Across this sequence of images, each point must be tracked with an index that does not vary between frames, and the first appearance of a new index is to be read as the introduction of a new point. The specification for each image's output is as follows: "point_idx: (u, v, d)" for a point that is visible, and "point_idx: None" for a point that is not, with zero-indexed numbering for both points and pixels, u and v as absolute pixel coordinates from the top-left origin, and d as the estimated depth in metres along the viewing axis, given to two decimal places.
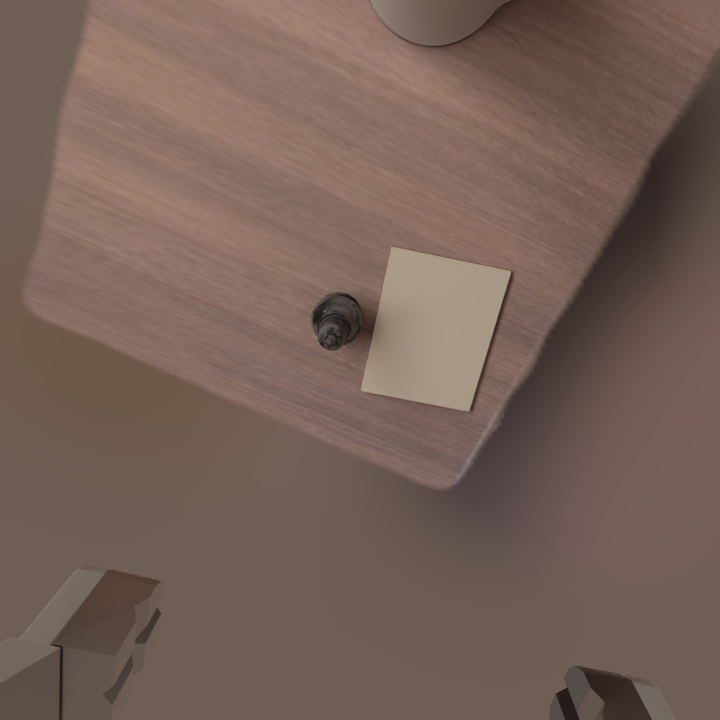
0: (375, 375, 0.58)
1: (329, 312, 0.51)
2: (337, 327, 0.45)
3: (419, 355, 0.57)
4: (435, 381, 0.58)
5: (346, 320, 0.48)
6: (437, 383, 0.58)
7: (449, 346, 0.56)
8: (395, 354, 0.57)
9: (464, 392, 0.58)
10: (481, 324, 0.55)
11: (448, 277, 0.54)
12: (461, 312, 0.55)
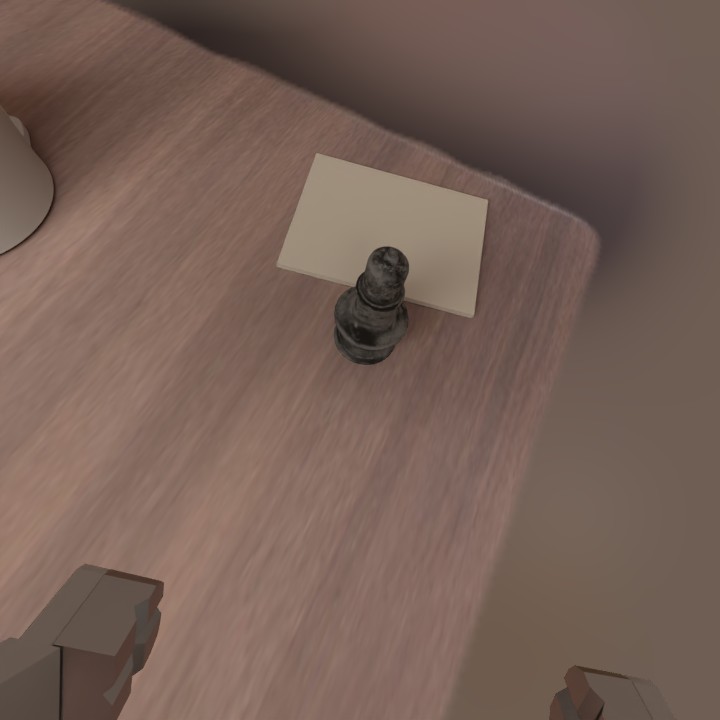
0: (449, 296, 0.42)
1: (357, 311, 0.34)
2: (373, 253, 0.30)
3: (419, 244, 0.44)
4: (451, 230, 0.45)
5: None
6: (455, 228, 0.45)
7: (406, 213, 0.45)
8: (419, 270, 0.42)
9: (464, 203, 0.47)
10: (377, 181, 0.46)
11: (320, 208, 0.44)
12: (363, 199, 0.45)
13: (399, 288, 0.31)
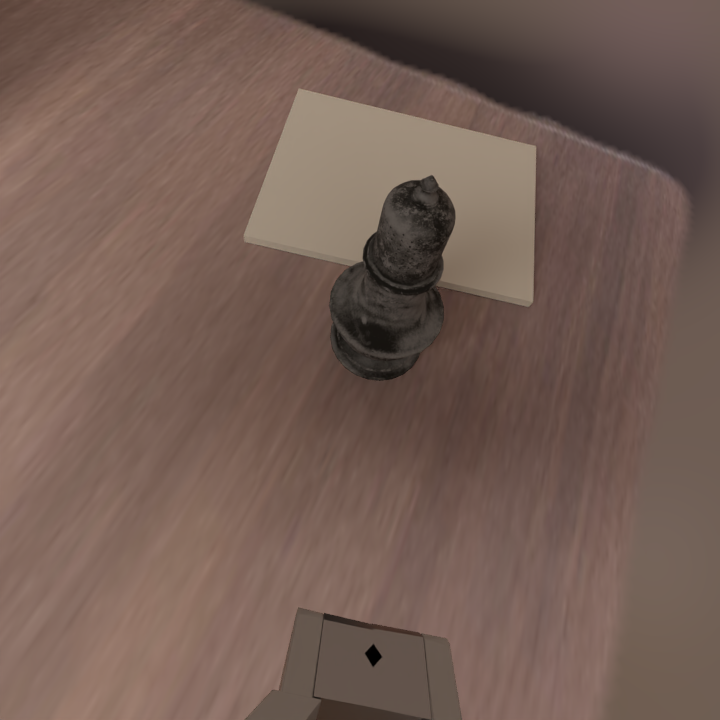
0: (496, 275, 0.29)
1: (365, 297, 0.22)
2: (392, 191, 0.17)
3: None
4: (490, 186, 0.32)
5: None
6: (495, 184, 0.32)
7: (426, 165, 0.32)
8: (450, 241, 0.30)
9: (504, 150, 0.34)
10: (384, 124, 0.33)
11: (305, 160, 0.31)
12: (365, 147, 0.32)
13: (438, 253, 0.18)
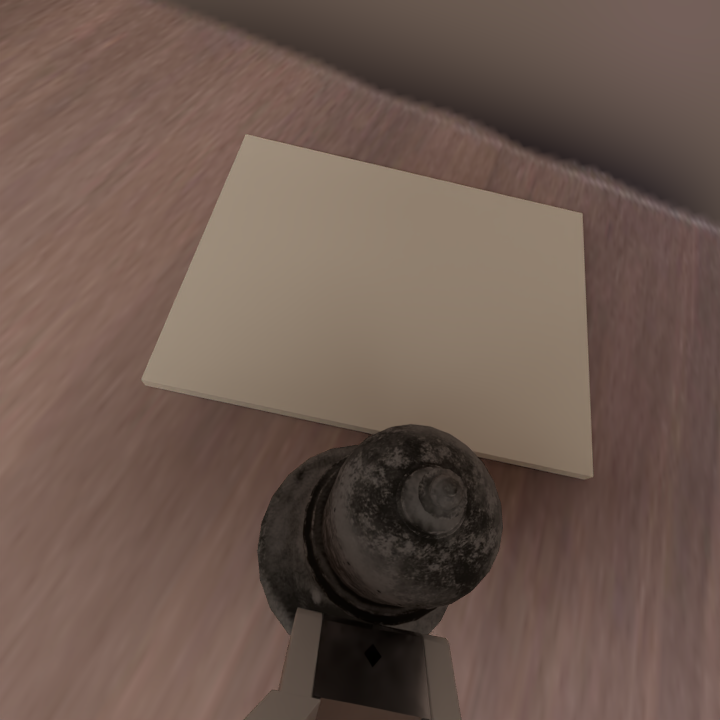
0: (534, 432, 0.19)
1: None
2: (352, 469, 0.07)
3: (458, 314, 0.21)
4: (521, 279, 0.22)
5: (337, 467, 0.10)
6: (527, 275, 0.22)
7: (427, 248, 0.22)
8: (463, 374, 0.20)
9: (537, 221, 0.24)
10: (367, 186, 0.23)
11: (248, 246, 0.21)
12: (339, 222, 0.22)
13: None
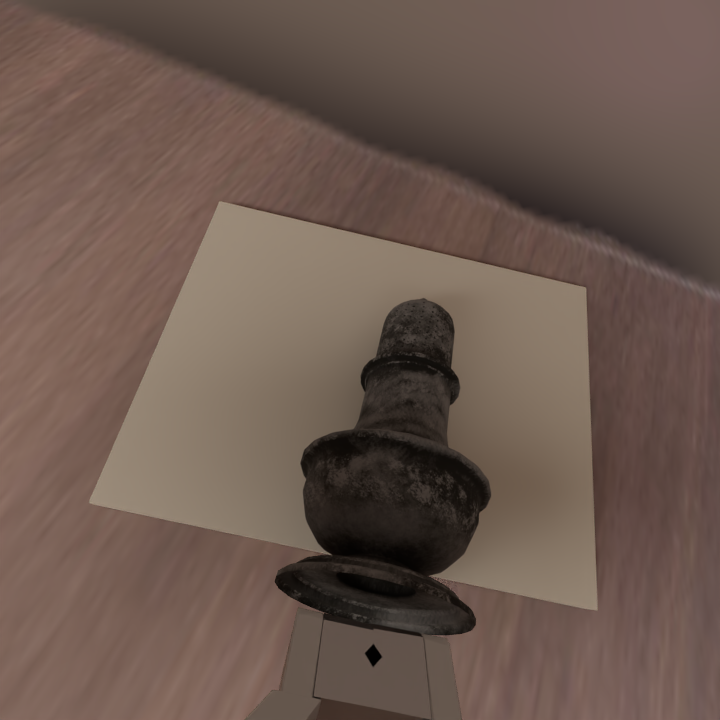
0: (532, 556, 0.17)
1: (378, 410, 0.15)
2: None
3: None
4: (518, 367, 0.20)
5: None
6: (525, 362, 0.20)
7: None
8: None
9: (537, 297, 0.22)
10: (351, 259, 0.21)
11: (216, 335, 0.19)
12: (319, 304, 0.20)
13: (452, 344, 0.18)
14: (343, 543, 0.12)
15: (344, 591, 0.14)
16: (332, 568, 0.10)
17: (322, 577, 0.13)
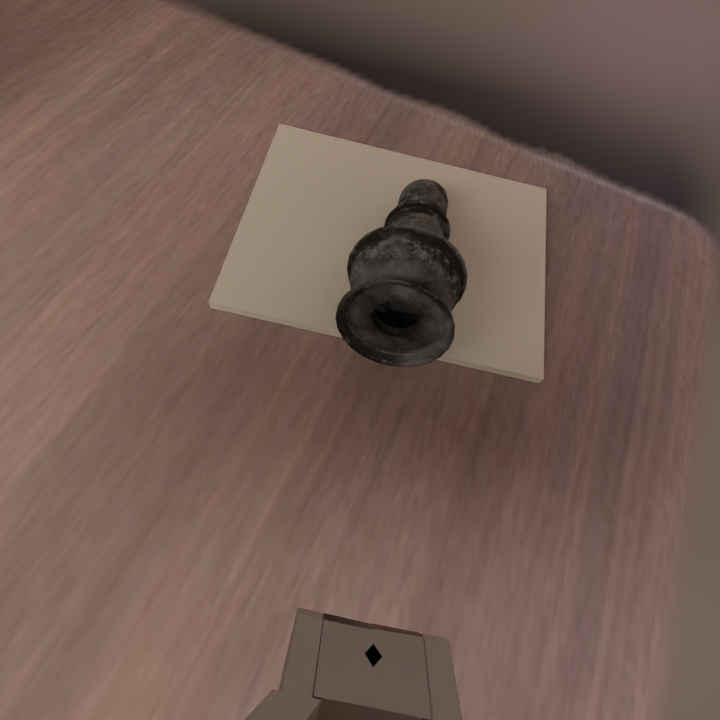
0: (500, 347, 0.25)
1: None
2: None
3: None
4: (495, 237, 0.28)
5: None
6: (499, 234, 0.28)
7: None
8: None
9: (510, 194, 0.30)
10: (375, 164, 0.30)
11: (283, 209, 0.27)
12: (353, 192, 0.28)
13: (446, 206, 0.26)
14: None
15: (376, 338, 0.22)
16: (370, 282, 0.19)
17: (363, 322, 0.21)
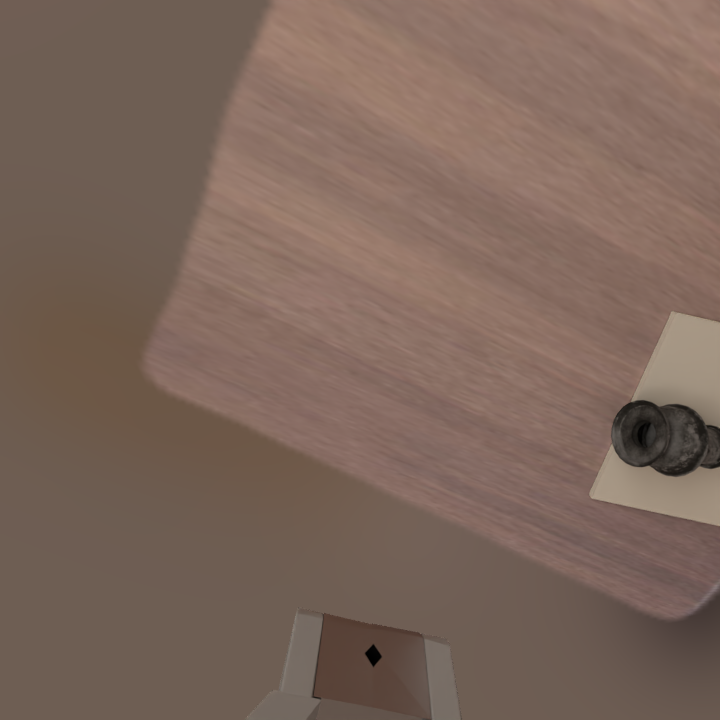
0: (615, 479, 0.42)
1: None
2: None
3: None
4: (697, 489, 0.42)
5: None
6: (699, 492, 0.42)
7: None
8: None
9: None
10: None
11: None
12: None
13: None
14: None
15: (632, 418, 0.38)
16: (669, 431, 0.34)
17: (645, 414, 0.37)
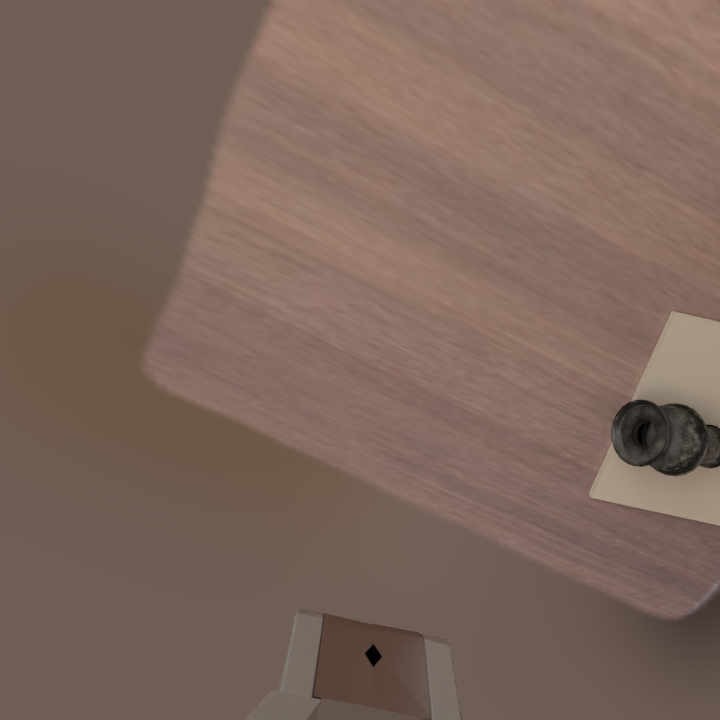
0: (615, 478, 0.42)
1: None
2: None
3: None
4: (697, 488, 0.42)
5: None
6: (699, 492, 0.42)
7: None
8: None
9: None
10: None
11: None
12: None
13: None
14: None
15: (632, 417, 0.38)
16: (668, 430, 0.34)
17: (644, 414, 0.37)
